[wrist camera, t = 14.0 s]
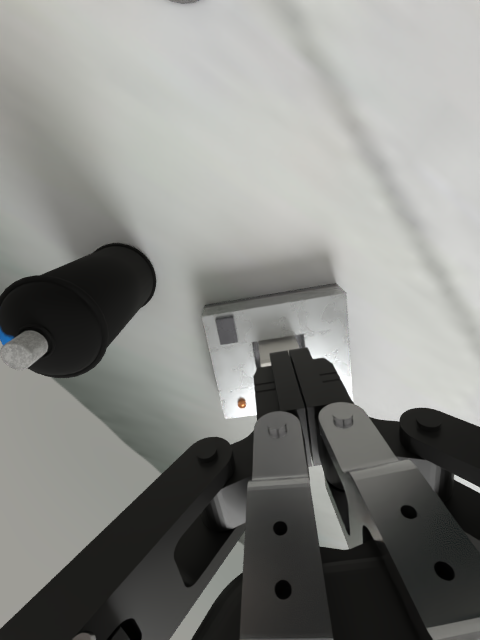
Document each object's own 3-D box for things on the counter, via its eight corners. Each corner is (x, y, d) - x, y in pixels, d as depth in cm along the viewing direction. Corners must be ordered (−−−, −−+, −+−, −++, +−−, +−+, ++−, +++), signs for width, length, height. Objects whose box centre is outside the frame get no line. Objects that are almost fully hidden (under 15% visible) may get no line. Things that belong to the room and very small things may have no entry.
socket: (204, 305, 40) (200, 318, 36) (336, 283, 40) (348, 294, 35) (226, 400, 45) (224, 422, 41) (343, 383, 45) (354, 403, 40)
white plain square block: (256, 336, 41) (260, 363, 34) (293, 330, 41) (303, 357, 34) (262, 367, 42) (266, 400, 36) (297, 362, 42) (308, 394, 36)
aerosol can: (140, 233, 37) (42, 276, 19) (166, 300, 40) (104, 394, 22) (74, 254, 38) (-83, 314, 20) (104, 318, 41) (-7, 424, 22)
